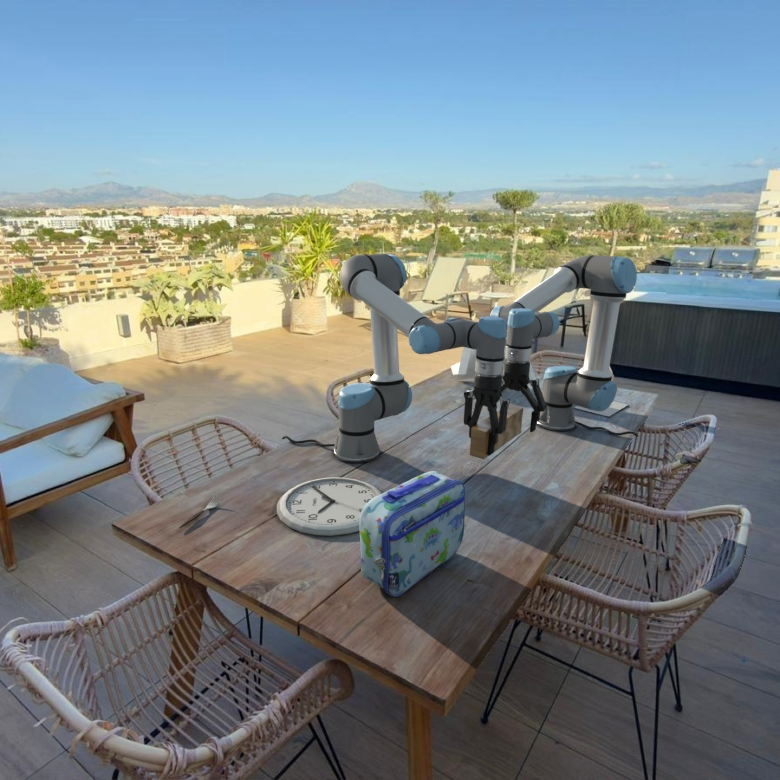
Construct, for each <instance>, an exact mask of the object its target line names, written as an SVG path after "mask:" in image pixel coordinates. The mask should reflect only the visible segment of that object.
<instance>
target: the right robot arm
mask: <svg viewBox="0 0 780 780" xmlns="http://www.w3.org/2000/svg"><path fill="white" fill-rule="evenodd" d="M637 274H638V273H637V267H636V265H635V262H634V261H633V260H632V259H631V258H629V257H625V256H619V255H615V256H614V255H595V254H586V255H582V256H579V257H576V258H574V259H571V260H569V261H567V262H565V263H564V264H562V265H560V266H559V267H557V268H556V269H554V271H553V274H552V275H550V276H549V277H547V278H546V279H544V281H542V282H540V283H539V284H537V285H536V286H534V287H533V288H531V289H530V290H529V291H527V292H526V293H524V294H523V295H522V296H519V298H517V299H515V300H514V301H513V302H511V303H510V304H508V305H506V306H504V305H498V306H495V307H493V308H492V310H491V312H490V313H489V314H490V315H489V316H493V317H500V318H503V319H505V320H506V322H507V330H506V333H507V337H506V342H505V347H506V354H505V358H506V361H505V365H504V366H503V373H502V374H501V375H502V381H503V384H502V386H501V394H502V393H503V392H505V391H506V390H507V389H508V390H509V391H516V392H521V394H522V395H523V396H524V397H525V398H526V400H527V402H528V404H529V405H530V407H531V408H532V411H531V415H530V426H529V432H530V433H533V432H535V431H536V430H537V429H536V428H537V427H539V428H542V429H544V430H549V431H556V432H567V431H572V430H574V429H575V428H576V425H579V426H581V427H583V428H586V429H588V430H602V431H604V432H606V433H608V434H609V435H613V436H624V435H633V436H634V437H640V435H638V434H637V432H635V431H632V430H628V431H622V432H614V431H612V430H610V429H608V428H607V427H603V426H590V425H587V424H584V423H582V422H579V421H577V420H576V418H575V417H576V416H575V413H574V407H573V405H574V406H580V407H584V408H587V409H589V410H594V411H604V410H606V409H607V408H608V407H609V406H610V405H611V403H612V402H613V401H614V400H615V398H616V396H617V392H618V387H617V383H616V382H615V381H613V373H612V372H611V371H610V365H611V359H612V353H613V346H614V342H615V336H616V330H617V324H618V317H619V312H620V306H621V302H623V301H624V300H625V299H626V298H627V294H630V293H632V291H634V290H635V286H636V284H637V280H638V275H637ZM577 289H587V290H590V292H589V296H590V297H591V299H592V300H593V302H592V310H591V315H590V321H589V328H588V329H589V330H588V334H587V335H588V336H587V341H586V346H585V353H584V360H583V366H582V367H581V368H580V369H578V368H577V367H576V366H571V365H570V366H569V365H555V366H554V365H553V366H550V367H547V368H546V369H545V371H544V375H543V378H542V379H543V381H542V382H543V383H542V389H541V387H540V379H539V378H536V379H531V377H530V374H529V371H530V362H531V359H532V347H533V340H535V339H541V338H547V337H550V336H553V335H555V334H557V332H558V331H559V328H560V323H561V321H560V319H559V316H558V315H557V314H556V313H555V312H553V311H542V310H543V309H544V308H546V307H547V306H549V305H550V304H552V302H554V301H555V300H557V299H559V298H560V297H561V296H563V295H564V294H565V293H571V292H573V291H575V290H577ZM540 311H542V312H540ZM529 361H530V362H529ZM529 384H530V387H531V388H532V391H533V393H532V391H531V389H530V387H529Z"/></svg>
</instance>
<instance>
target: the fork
mask: <svg viewBox="0 0 780 780" xmlns="http://www.w3.org/2000/svg"><path fill="white" fill-rule="evenodd" d="M222 498H223V495H221V493H220V494H217V493H215V494H214V495H213V497H212V499H211V500H210V502H209V503H208V504H207V505H206V507H205V508H204V509H202V510H200V511H199V512H197V513H195V514H193V515H192V516H191V517H190V518H188V519H187V520H186V521H185V522H184V523H183V524H181V525H180V526H179V527H178V529H182V528H183V527H185V526H186V525H188V524H189V523H191V522H193V521H195V520H196V519H197V518H198V517H200V516H201V515H202V514H203V513H204V512H205V511H207V510H210V509H211V510H212V509H215V508H216V507H217V506H218V505H219V503H220V501H221V499H222Z"/></svg>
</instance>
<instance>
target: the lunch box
mask: <svg viewBox="0 0 780 780" xmlns="http://www.w3.org/2000/svg"><path fill="white" fill-rule="evenodd" d="M382 493H383V494H381V495H378V496H376V497H374V498H373V499H371V500H370V501H369V502H368V503H367V504H366V505H365V507H364V508H363V510H362V513H361V516H360V526H359V531H358V532H359V563H360V564H359V565H360V572H361V575H362V578H364V579H366V580H367V581H369V582H371V583H373V584H375V585H376V586H378V587H379V588H381V589H383V591H384V592H385V593H386V594H388V595H389V596H392V597H393V598H394V597H395V598H396V597H400V596H402V595H403V594H404V593H406V592H407V591H408V590H410V588H412V587H413V586H414V585H416V584H417V583H418V582H420V581H421V580H422V579H424V578H425V577H426V576H428V575H430V573H432V572H433V570H435V569H436V568H437V567H439V566H441V565H442V564H444V563H445V562H446V561H448V560H450V559H451V558H452V557H453V556H455V554H456V553H457V552H458V551H459V549H460V547H461V544H462V543H463V539H464V533H465V518H466V516H465V515H466V488H465V484H464V482H463V481H462V480H459V479H453V478H450V477H448V476H446V475H445V474H442V473H440V472H438V471H435V470H431V471H430V470H429V471H427V472H424V473H422V474H420V475H417V476H415V477H413V478H411V479H409V480H407V481H405V482H402V483H401V484H398V485H397V486H395V487H392V488H390V489H389V490H387V491H384V492H382Z"/></svg>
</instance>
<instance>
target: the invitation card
mask: <svg viewBox="0 0 780 780" xmlns="http://www.w3.org/2000/svg"><path fill="white" fill-rule="evenodd" d="M628 406H629V404H627V403H623V402H618V401H614V400H613V402H612V403H611V405H610V406H609V407H608V408H607V409H606V410H604V411H594V410H589V409H587V408H584V407H580V406H577V405H575V406H574V407H573V409H575V410H581V411H584V412H587V413H593V414H596V415H600V416H604V417H608V418H609V417H611V416H613V415H614V414H616V413H617V412H619V411H621V410H623V409H624V408H626V407H628Z"/></svg>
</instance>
